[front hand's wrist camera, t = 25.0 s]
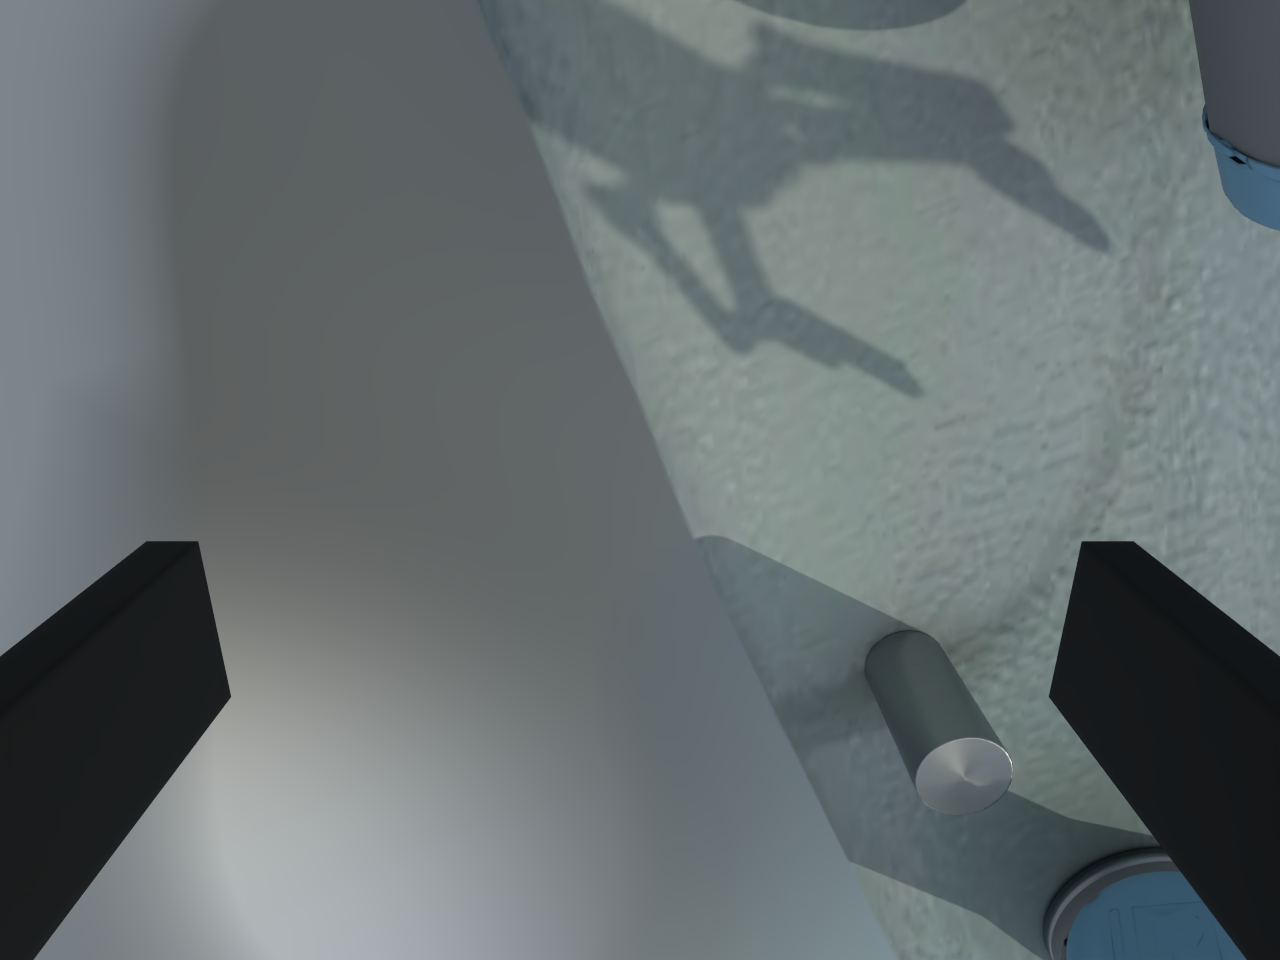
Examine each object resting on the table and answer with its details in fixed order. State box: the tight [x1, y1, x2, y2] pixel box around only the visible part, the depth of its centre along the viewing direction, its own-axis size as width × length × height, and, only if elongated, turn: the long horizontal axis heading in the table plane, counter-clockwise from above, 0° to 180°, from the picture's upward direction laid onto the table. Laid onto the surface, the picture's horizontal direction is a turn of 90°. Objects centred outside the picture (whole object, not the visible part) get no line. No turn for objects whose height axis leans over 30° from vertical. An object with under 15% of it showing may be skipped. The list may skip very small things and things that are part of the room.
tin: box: [865, 631, 1013, 815], centre depth 55 cm, size 6×6×12 cm
